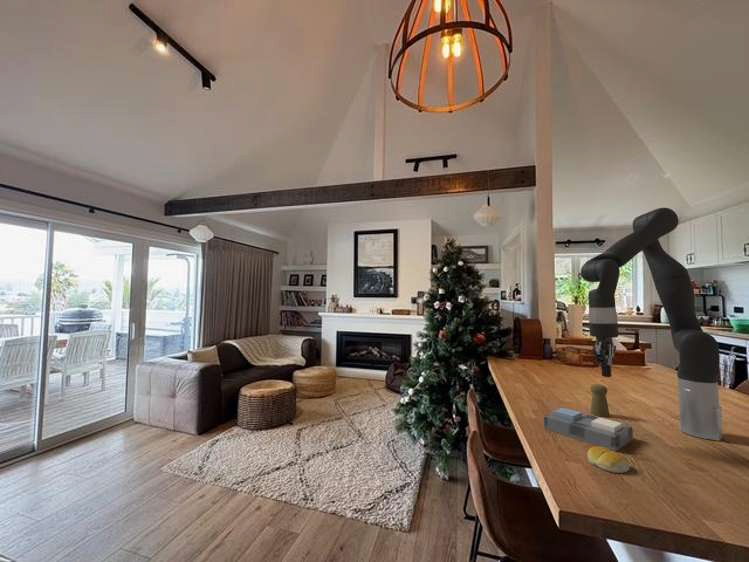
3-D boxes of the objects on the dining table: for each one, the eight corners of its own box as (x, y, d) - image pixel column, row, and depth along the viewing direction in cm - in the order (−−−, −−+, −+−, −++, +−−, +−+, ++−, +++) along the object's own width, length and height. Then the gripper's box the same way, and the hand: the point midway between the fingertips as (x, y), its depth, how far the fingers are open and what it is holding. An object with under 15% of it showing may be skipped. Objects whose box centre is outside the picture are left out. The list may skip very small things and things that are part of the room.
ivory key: (622, 431, 98) (621, 423, 98) (614, 436, 94) (614, 427, 94) (599, 425, 103) (599, 417, 103) (591, 429, 99) (591, 421, 99)
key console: (632, 439, 99) (632, 426, 99) (615, 451, 91) (614, 437, 91) (564, 419, 115) (564, 408, 115) (544, 428, 107) (544, 416, 107)
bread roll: (603, 455, 89) (602, 440, 89) (636, 472, 80) (635, 455, 81) (578, 458, 87) (578, 443, 87) (609, 476, 78) (608, 459, 79)
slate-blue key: (581, 420, 107) (581, 412, 107) (573, 424, 103) (573, 416, 104) (562, 414, 112) (562, 407, 112) (554, 418, 108) (554, 410, 109)
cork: (613, 417, 117) (611, 387, 118) (594, 416, 118) (593, 386, 119) (604, 412, 123) (603, 383, 124) (587, 411, 124) (586, 382, 125)
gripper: (609, 323, 95) (613, 382, 94) (624, 321, 103) (628, 375, 102) (581, 322, 101) (585, 377, 100) (597, 320, 109) (601, 371, 108)
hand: (606, 376), depth 101 cm, fingers closed
